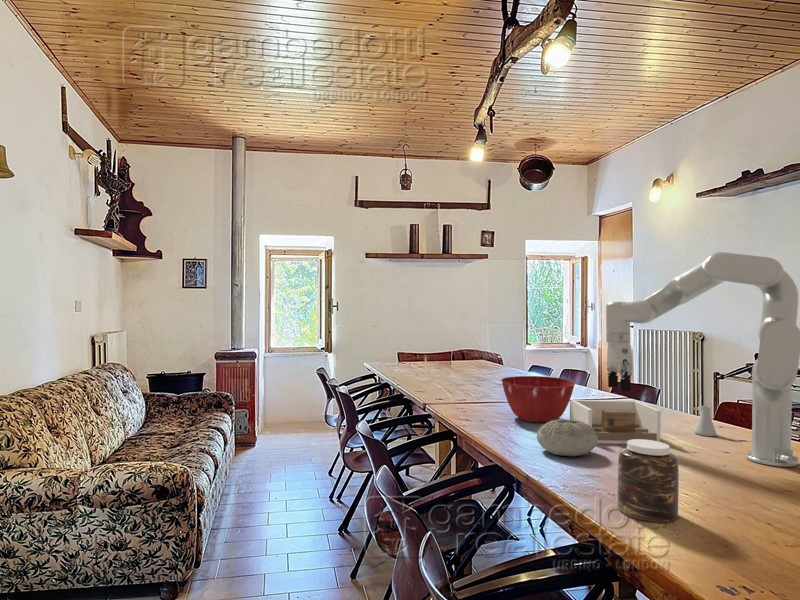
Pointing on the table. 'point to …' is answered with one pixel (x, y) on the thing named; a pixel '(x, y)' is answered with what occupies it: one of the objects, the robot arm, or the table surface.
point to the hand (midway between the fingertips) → (619, 389)
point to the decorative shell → (567, 437)
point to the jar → (648, 481)
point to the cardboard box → (618, 421)
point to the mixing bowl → (537, 397)
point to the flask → (705, 423)
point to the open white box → (592, 409)
